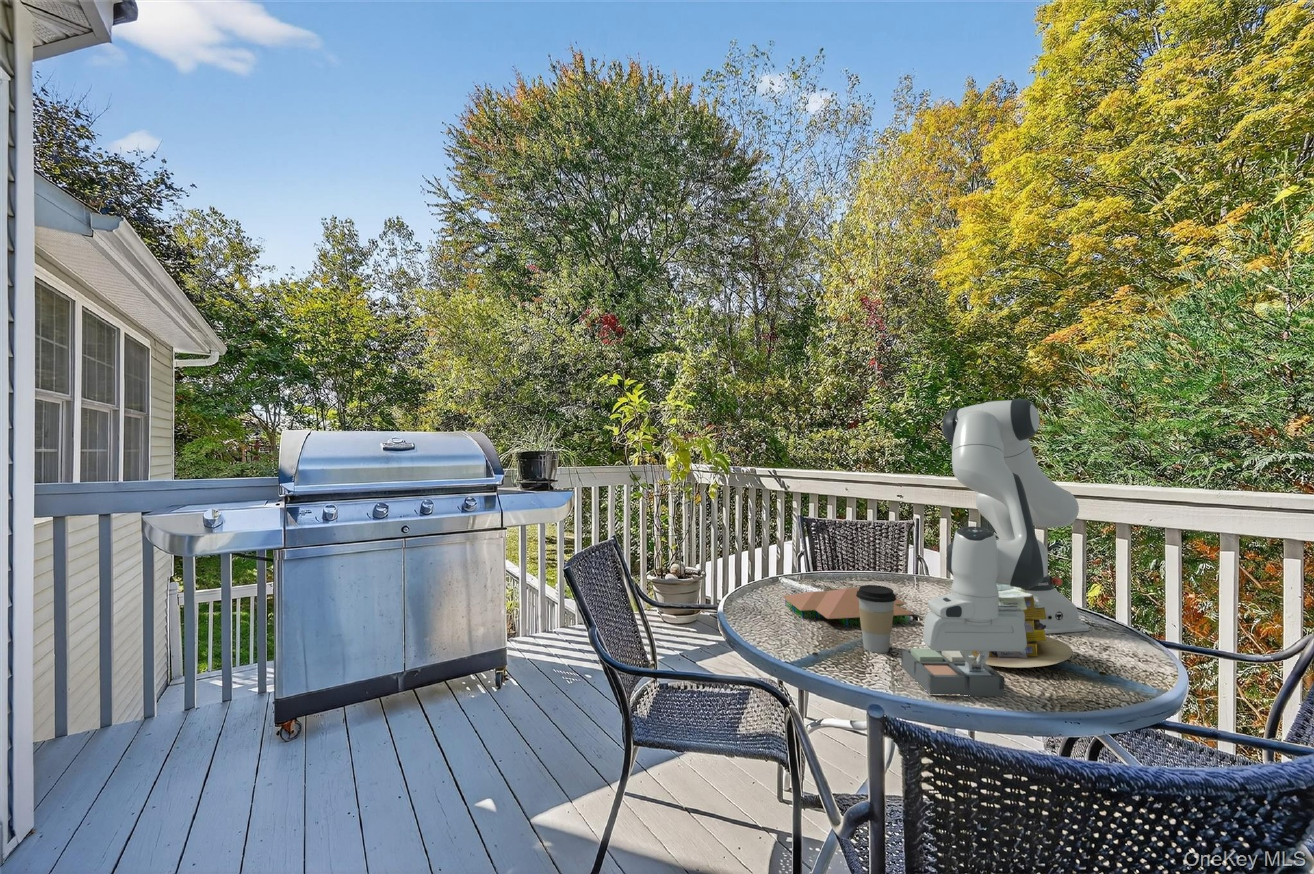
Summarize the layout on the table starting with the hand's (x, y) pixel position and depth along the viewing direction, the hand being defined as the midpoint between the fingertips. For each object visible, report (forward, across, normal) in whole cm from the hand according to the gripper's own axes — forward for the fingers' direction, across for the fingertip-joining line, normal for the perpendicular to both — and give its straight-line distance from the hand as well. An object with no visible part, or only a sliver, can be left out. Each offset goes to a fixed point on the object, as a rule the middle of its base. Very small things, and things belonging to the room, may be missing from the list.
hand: (974, 670), depth 124 cm
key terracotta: (+2, +7, 0) cm, 7 cm away
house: (+4, +11, -50) cm, 51 cm away
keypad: (+4, +4, -4) cm, 6 cm away
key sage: (+1, +7, -7) cm, 10 cm away
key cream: (+1, 0, -7) cm, 7 cm away
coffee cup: (+4, +13, -22) cm, 26 cm away
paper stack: (+4, -18, -18) cm, 26 cm away
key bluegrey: (+2, 0, 0) cm, 2 cm away
